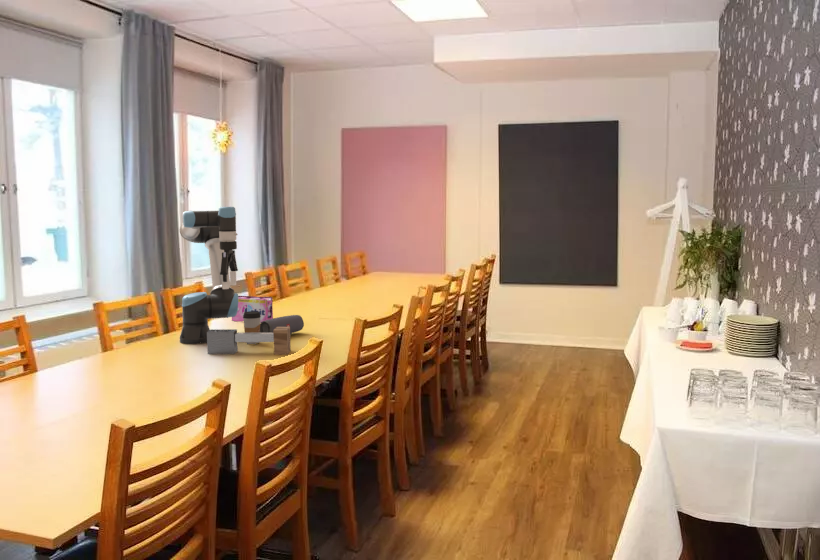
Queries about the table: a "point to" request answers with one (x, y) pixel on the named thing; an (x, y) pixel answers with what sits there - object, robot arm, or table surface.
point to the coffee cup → (252, 323)
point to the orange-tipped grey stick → (253, 337)
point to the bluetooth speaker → (282, 324)
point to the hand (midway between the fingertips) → (229, 287)
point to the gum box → (254, 307)
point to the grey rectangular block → (221, 342)
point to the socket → (282, 340)
